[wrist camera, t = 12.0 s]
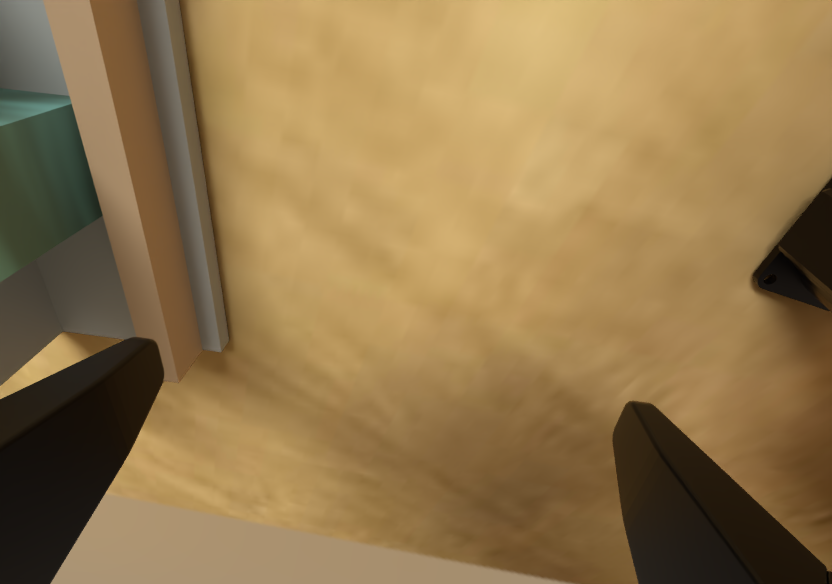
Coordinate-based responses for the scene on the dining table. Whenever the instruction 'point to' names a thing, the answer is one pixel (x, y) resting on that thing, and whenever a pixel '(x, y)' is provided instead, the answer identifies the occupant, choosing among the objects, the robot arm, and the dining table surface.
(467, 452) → the dining table surface
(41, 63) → the grey bookend
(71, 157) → the teal block
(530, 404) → the dining table surface
